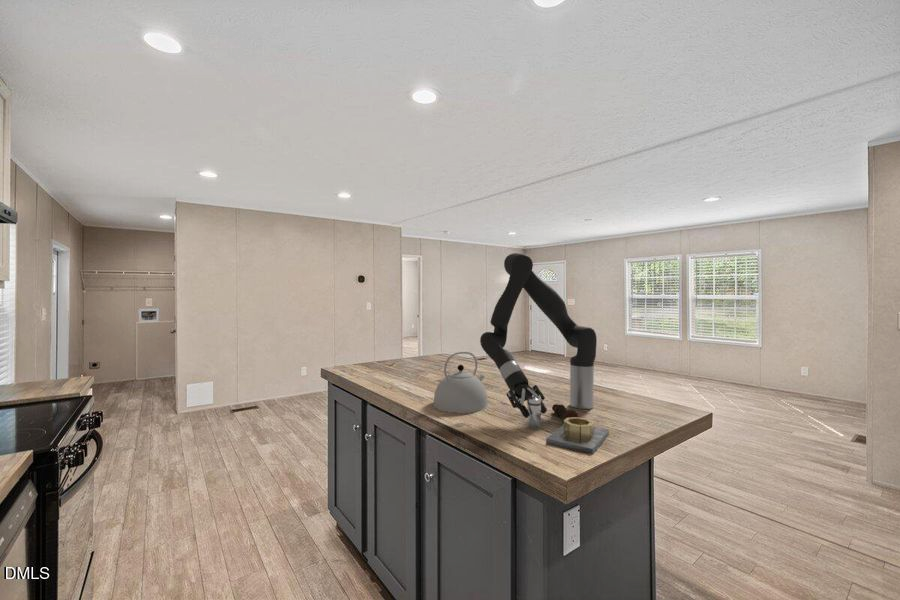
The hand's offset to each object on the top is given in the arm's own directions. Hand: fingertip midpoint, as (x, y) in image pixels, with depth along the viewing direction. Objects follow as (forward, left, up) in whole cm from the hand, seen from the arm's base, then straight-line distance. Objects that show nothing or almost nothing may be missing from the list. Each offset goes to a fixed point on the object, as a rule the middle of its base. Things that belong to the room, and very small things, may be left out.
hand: (536, 414), depth 134 cm
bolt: (-16, +4, -5) cm, 18 cm away
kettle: (-10, -37, -5) cm, 38 cm away
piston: (0, -1, -5) cm, 5 cm away
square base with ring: (+2, +15, -5) cm, 16 cm away
